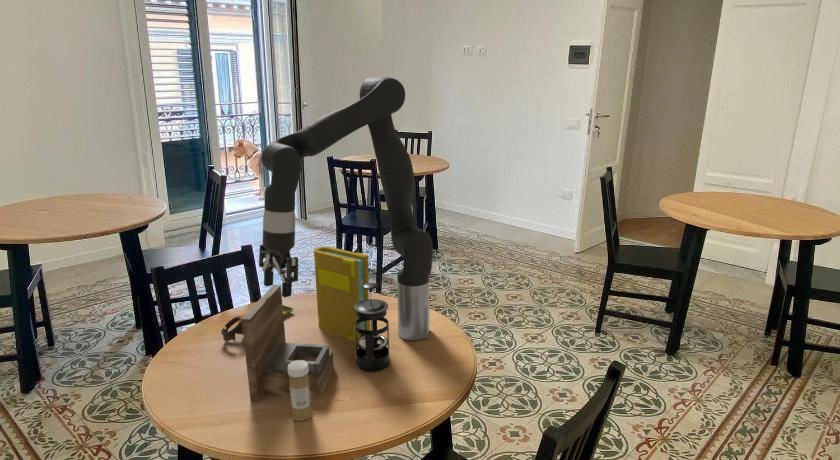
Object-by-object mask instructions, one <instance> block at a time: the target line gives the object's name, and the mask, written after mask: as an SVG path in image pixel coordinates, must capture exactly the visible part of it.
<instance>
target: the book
mask: <svg viewBox="0 0 840 460" xmlns="http://www.w3.org/2000/svg"><path fill="white" fill-rule="evenodd" d="M313 257H314V273H315V274H314V275H315V287H316V303H317V317H318V318H317V322H318V328H319V329H320V330H322V331H325V332H329V333H332V334H335V335H338V336H341V337H344V338H346V339H347V340H350V341H352V342H355V322H356V320H358V319H359V318H358V317H357V316H356V311H355V310H354V306H355V304H356V303H358V302H360V301H362V300H367V299H370V294H369V289H365V288H363V287H362V286H363V284H365V283H369V254H365V253H361V252H354V251H349V250H344V249H341V248H338V247H337V248H336V247H332V246H327V245H326V246H319V247H316V248H314V249H313ZM357 327H358V328H360V329H362V330H369V331H371V320H367V321H363V322H361V323H359V324H358V325H357ZM361 335H362V334H360V333H358V332H357V340H358V339H359V338H360V337H362V336H361Z"/></svg>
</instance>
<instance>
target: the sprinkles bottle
mask: <svg viewBox="0 0 840 460" xmlns="http://www.w3.org/2000/svg"><path fill="white" fill-rule="evenodd" d="M308 372H309V367H308V363H307V362H306V361H303V360H296V361H293V362H291V363H290V364H289V365H288V374H289V381H290V395H291V397H290V406H291V412H292V413H291V417H292V419H293V420H294V421H297V422H303V421H306V420H308V419H310V418H311V417H312V414H313V412H312V406H311V401H312V398H310V390H309V378H308Z"/></svg>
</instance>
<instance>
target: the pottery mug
mask: <svg viewBox="0 0 840 460" xmlns="http://www.w3.org/2000/svg"><path fill="white" fill-rule="evenodd" d="M245 315H246V314H244V315H243V316H240V315H239V316H235V317H233V318H232V319H230V320H228V322H226V323H225V325H224V327H225V328H224V327H223V328H222V329H221V331H220V334H221V335H222V336H223V338H222V339H223V341H224V342H228V341H235V342H236V341H237V340H236V335H243V328H242V318H243V317H244V316H245ZM236 323H237V324H236ZM235 324H236V326H234V325H235ZM232 326H234V327H233V328H231V327H232ZM230 328H231V330H229V329H230Z"/></svg>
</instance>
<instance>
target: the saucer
mask: <svg viewBox="0 0 840 460" xmlns="http://www.w3.org/2000/svg"><path fill="white" fill-rule="evenodd" d="M282 306H283V318H285V317H286V316H288V315H290V314H292V312H293V311H294V310H295V308H294V307H291V306H288V305H284V304H282Z"/></svg>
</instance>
